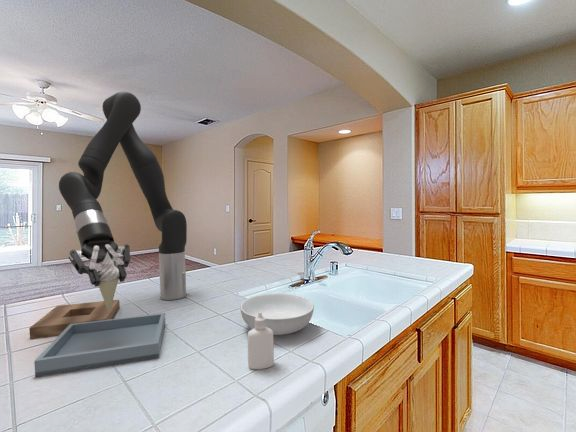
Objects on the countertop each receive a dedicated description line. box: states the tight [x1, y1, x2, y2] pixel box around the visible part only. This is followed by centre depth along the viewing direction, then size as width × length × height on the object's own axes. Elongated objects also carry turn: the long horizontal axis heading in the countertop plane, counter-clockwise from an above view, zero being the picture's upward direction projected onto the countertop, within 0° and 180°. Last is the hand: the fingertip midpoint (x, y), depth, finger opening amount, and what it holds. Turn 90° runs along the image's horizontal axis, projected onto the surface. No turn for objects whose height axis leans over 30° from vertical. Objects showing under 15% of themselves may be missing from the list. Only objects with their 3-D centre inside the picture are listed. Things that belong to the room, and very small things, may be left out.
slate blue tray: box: [33, 312, 166, 378], centre depth 77 cm, size 24×20×4 cm
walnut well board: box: [29, 299, 121, 340], centre depth 93 cm, size 18×18×3 cm
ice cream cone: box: [97, 252, 119, 311], centre depth 76 cm, size 5×5×15 cm
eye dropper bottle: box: [247, 312, 275, 370], centre depth 67 cm, size 4×6×12 cm
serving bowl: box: [240, 293, 315, 336], centre depth 87 cm, size 21×21×7 cm
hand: (110, 281), depth 75 cm, fingers closed on ice cream cone, 5 cm apart
